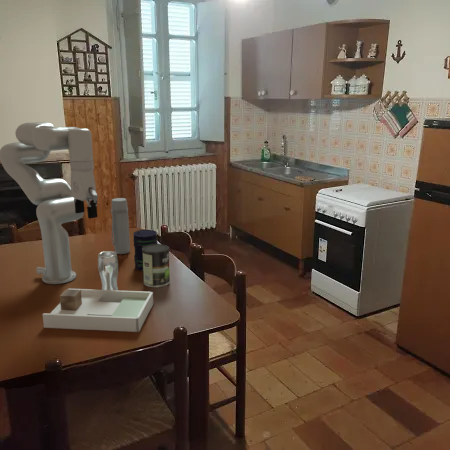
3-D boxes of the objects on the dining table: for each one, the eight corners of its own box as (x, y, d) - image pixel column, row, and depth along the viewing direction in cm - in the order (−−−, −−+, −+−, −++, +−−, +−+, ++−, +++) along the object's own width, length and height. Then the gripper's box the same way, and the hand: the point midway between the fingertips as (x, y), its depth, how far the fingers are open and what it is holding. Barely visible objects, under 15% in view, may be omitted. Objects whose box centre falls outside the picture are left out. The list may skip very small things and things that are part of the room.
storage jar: (160, 263, 193) (159, 230, 189) (155, 271, 184) (153, 236, 180) (138, 262, 194) (136, 229, 190) (131, 270, 185) (129, 236, 181)
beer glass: (102, 297, 159) (99, 258, 155) (98, 290, 165) (95, 252, 161) (121, 294, 162) (119, 255, 158) (117, 287, 168) (114, 249, 164)
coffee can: (173, 278, 177) (172, 244, 173) (165, 288, 167) (164, 253, 163) (149, 276, 179) (147, 242, 175) (139, 286, 169) (137, 251, 165)
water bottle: (122, 248, 211) (119, 197, 204) (134, 251, 207) (131, 199, 200) (107, 253, 204) (103, 200, 197) (118, 257, 200) (115, 203, 193)
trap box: (44, 327, 138) (42, 314, 137) (69, 300, 157) (68, 288, 156) (138, 331, 136) (138, 318, 135) (153, 303, 155) (153, 291, 154)
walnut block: (61, 309, 144) (59, 295, 143) (67, 303, 149) (66, 289, 148) (76, 310, 144) (74, 296, 143) (82, 303, 149) (80, 289, 147)
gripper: (60, 164, 154) (65, 212, 158) (82, 169, 141) (87, 221, 146) (81, 162, 158) (85, 209, 163) (104, 167, 146) (108, 218, 151)
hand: (86, 215), depth 154 cm, fingers open, 9 cm apart
